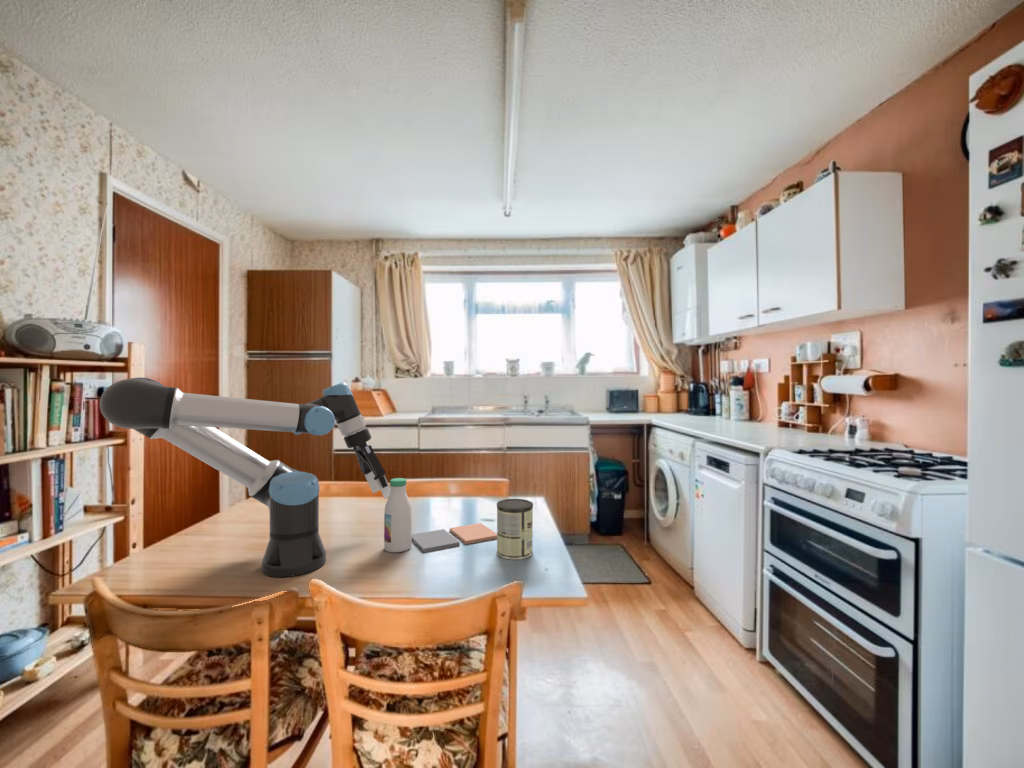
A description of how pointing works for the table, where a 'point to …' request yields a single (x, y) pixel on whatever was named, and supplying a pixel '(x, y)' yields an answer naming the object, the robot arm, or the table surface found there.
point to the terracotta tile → (473, 533)
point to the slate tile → (434, 540)
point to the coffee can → (514, 529)
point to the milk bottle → (397, 518)
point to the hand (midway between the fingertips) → (382, 493)
